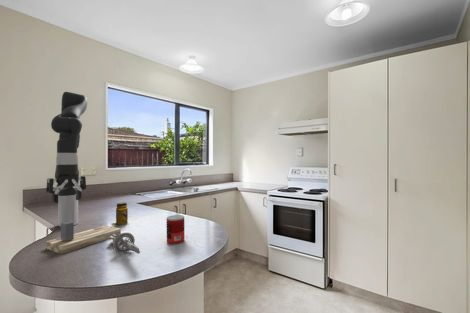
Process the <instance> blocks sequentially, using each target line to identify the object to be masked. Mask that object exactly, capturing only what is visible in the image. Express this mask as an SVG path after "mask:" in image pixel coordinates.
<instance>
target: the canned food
mask: <svg viewBox="0 0 470 313" xmlns="http://www.w3.org/2000/svg"><path fill="white" fill-rule="evenodd" d="M166 242H167V243H168V244H170V245H178V244H181V243H183V242H185V215H181V214H173V215H169V216H167V217H166Z"/></svg>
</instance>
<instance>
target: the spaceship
mask: <svg viewBox="0 0 470 313" xmlns="http://www.w3.org/2000/svg"><path fill="white" fill-rule="evenodd" d="M110 237H111V238H110V239H112V240H111V241H110V243H111V244H112V245H113V246H112V248H113V249H114V251H115V252H117V253H119V254H125V253H128V252H129V251H131V252H134V253H136V254H140V253H141V250H140V248H139V247H138V246H137V245H136V244H135V240H136V239H135V237H134V234H132V233H130V232H127V231H126V232H121V234H119V232H117V233H115V234H113V235H112V236H110ZM121 246H122V247H121Z"/></svg>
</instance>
